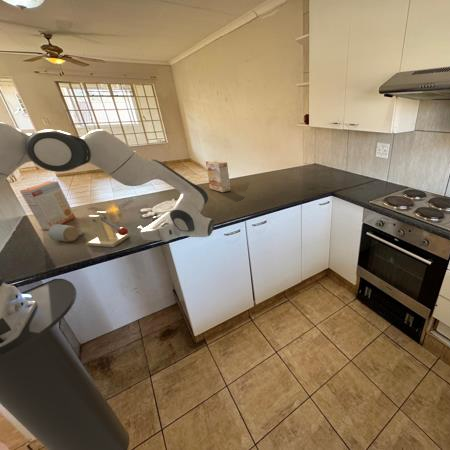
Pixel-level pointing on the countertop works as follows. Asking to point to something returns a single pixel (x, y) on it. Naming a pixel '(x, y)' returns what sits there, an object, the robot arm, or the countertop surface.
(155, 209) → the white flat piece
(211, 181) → the coffeecake box
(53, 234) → the ceramic mug
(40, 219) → the cracker box
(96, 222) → the bracket
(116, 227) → the lever
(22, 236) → the countertop surface
